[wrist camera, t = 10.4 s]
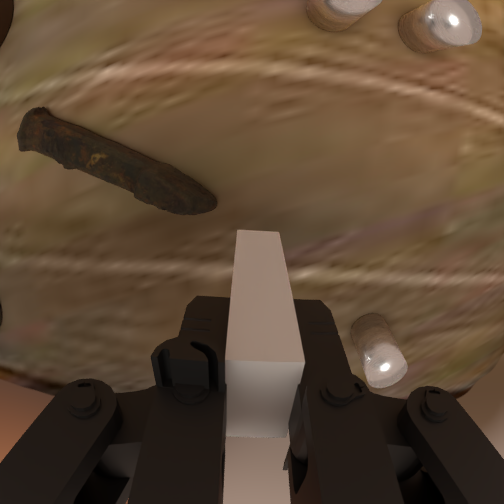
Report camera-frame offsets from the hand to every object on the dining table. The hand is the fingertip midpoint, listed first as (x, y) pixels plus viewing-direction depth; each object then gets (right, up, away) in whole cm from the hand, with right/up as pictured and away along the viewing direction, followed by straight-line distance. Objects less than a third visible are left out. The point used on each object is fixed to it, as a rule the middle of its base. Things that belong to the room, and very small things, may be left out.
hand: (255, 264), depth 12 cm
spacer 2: (+12, -8, +21) cm, 25 cm away
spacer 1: (+6, +20, +8) cm, 22 cm away
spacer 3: (+14, +19, +8) cm, 25 cm away
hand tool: (-11, +9, +13) cm, 20 cm away
